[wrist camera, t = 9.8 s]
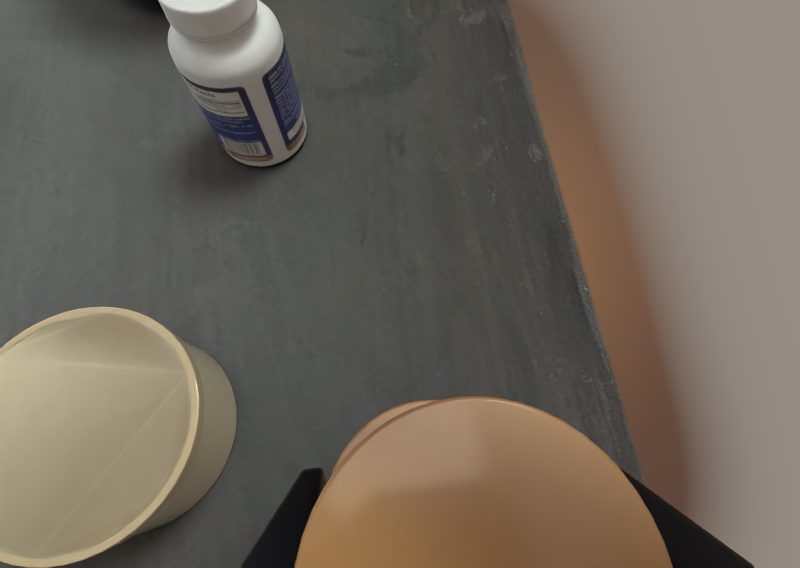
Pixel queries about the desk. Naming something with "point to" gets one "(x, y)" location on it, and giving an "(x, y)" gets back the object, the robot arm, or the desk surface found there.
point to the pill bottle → (238, 76)
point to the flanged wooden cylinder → (477, 495)
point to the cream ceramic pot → (104, 433)
